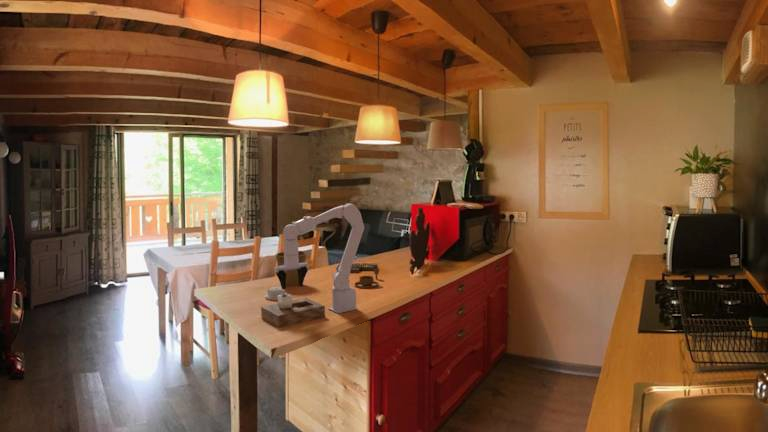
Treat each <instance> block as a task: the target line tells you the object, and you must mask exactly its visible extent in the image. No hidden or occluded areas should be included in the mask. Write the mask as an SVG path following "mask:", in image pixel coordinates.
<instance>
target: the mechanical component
mask: <svg viewBox="0 0 768 432" xmlns="http://www.w3.org/2000/svg"><path fill="white" fill-rule="evenodd" d="M285 291H286V289H282V287H281V286H271V287H270V288H268V289H267V293H266V294H264V298H265V300H268V301H278V295H283V294H288V293H287V292H285Z"/></svg>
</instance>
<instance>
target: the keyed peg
mask: <svg viewBox="0 0 768 432" xmlns="http://www.w3.org/2000/svg"><path fill="white" fill-rule="evenodd" d="M292 301H293V296H292V295H291V294H289V293H287V294H283V295H278V300H277V304H278V307H280V308H282V309H283V310H285V309H289V308H290V307H292Z"/></svg>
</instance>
